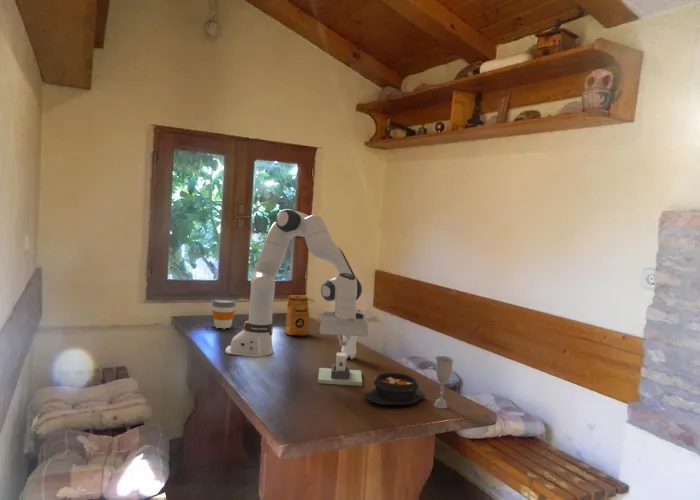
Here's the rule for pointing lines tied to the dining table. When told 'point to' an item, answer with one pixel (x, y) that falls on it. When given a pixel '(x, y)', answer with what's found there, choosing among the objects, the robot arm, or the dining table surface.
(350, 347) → the water bottle
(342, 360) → the keyed plug
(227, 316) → the reusable coffee cup
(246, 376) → the dining table surface
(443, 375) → the chalice
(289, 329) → the coffee package
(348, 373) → the socket board
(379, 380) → the casserole
